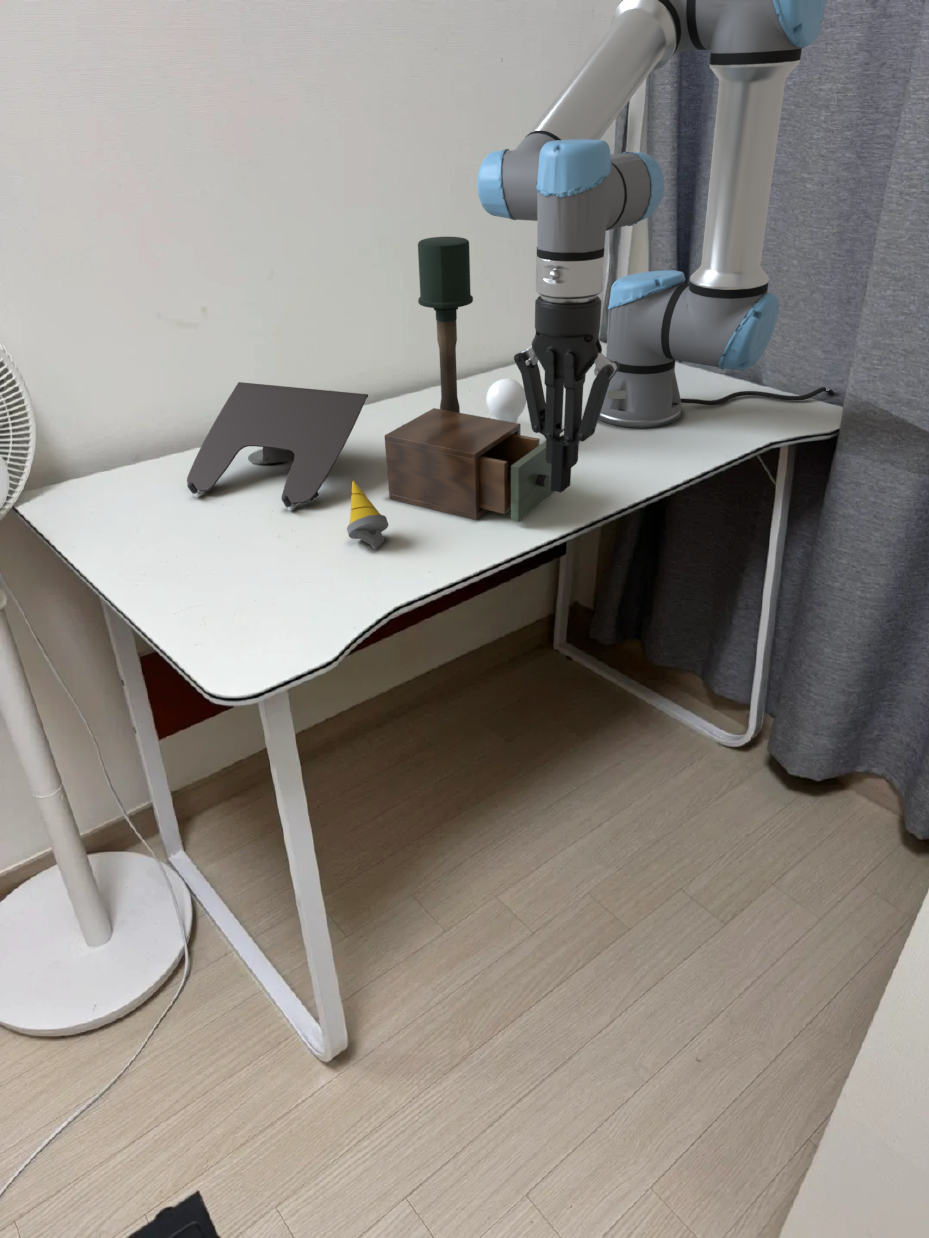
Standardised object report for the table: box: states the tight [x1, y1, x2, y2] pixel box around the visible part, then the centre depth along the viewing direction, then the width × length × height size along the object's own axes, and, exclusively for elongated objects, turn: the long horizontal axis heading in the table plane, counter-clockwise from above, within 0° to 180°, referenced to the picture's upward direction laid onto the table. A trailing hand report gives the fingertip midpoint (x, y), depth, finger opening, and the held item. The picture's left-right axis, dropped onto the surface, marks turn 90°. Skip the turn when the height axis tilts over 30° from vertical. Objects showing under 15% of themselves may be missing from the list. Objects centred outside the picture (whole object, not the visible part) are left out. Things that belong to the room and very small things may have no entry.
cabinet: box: [384, 407, 521, 521], centre depth 122 cm, size 15×13×10 cm
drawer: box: [478, 434, 555, 523], centre depth 119 cm, size 15×11×8 cm
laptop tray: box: [186, 381, 369, 511], centre depth 130 cm, size 23×23×9 cm
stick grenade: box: [417, 236, 474, 413], centre depth 138 cm, size 8×9×30 cm
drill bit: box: [346, 480, 389, 551], centre depth 112 cm, size 5×5×10 cm
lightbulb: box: [485, 377, 527, 423], centre depth 136 cm, size 6×6×11 cm
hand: (560, 487), depth 110 cm, fingers closed
